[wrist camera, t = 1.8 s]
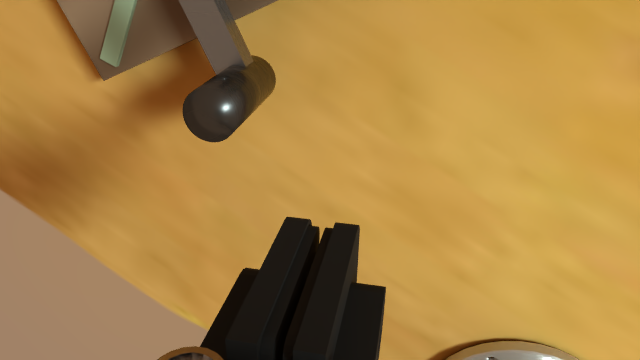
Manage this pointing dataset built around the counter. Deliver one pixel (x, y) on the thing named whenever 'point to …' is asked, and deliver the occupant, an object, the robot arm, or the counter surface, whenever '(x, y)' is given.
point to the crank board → (135, 29)
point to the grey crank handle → (224, 74)
